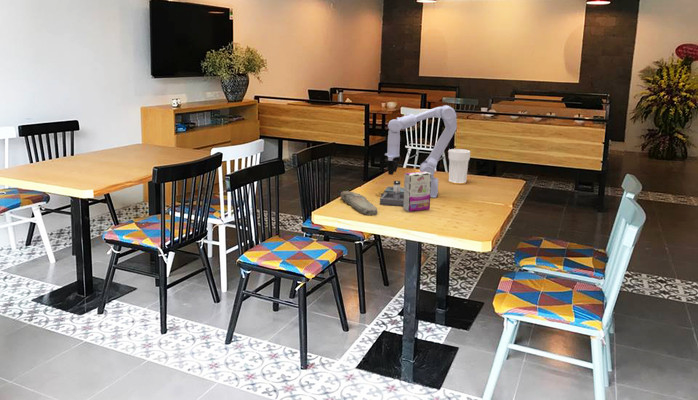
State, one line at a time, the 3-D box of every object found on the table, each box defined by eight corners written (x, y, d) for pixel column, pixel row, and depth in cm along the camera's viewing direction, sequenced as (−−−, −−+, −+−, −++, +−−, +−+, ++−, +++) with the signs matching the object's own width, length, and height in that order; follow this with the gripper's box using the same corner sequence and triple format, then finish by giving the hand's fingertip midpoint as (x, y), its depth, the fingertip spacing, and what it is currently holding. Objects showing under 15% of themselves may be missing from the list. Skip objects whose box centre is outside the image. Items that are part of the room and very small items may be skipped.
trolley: (412, 195, 287) (413, 181, 286) (409, 199, 279) (410, 184, 277) (384, 192, 291) (385, 178, 289) (381, 197, 282) (381, 182, 280)
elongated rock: (360, 220, 248) (382, 220, 251) (361, 208, 247) (384, 208, 250) (335, 196, 280) (355, 196, 283) (336, 185, 278) (356, 185, 281)
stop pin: (400, 200, 273) (401, 181, 271) (399, 201, 270) (399, 182, 268) (393, 199, 274) (394, 180, 272) (392, 201, 271) (392, 181, 269)
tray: (413, 200, 277) (413, 194, 276) (408, 207, 265) (408, 201, 264) (385, 198, 280) (385, 192, 279) (379, 204, 268) (379, 198, 267)
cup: (471, 182, 321) (473, 150, 317) (463, 185, 311) (465, 153, 307) (451, 179, 327) (453, 148, 322) (443, 183, 317) (445, 150, 313)
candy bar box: (423, 207, 266) (425, 171, 262) (430, 209, 261) (432, 173, 257) (402, 209, 260) (404, 172, 257) (408, 212, 256) (410, 174, 252)
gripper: (388, 142, 290) (387, 169, 294) (382, 146, 277) (381, 175, 280) (402, 143, 289) (401, 170, 292) (397, 147, 275) (395, 176, 278)
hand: (392, 173), depth 286 cm, fingers open, 7 cm apart
